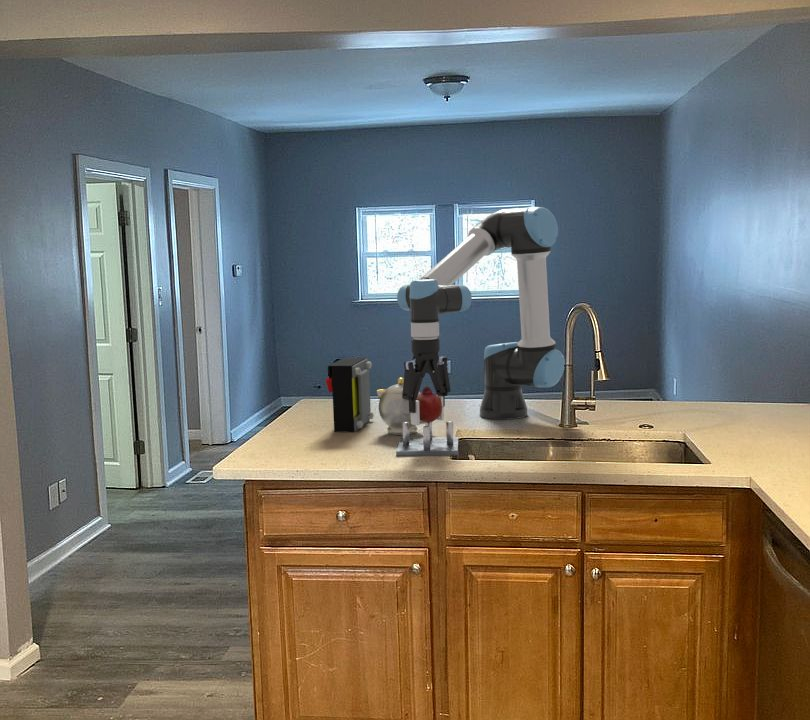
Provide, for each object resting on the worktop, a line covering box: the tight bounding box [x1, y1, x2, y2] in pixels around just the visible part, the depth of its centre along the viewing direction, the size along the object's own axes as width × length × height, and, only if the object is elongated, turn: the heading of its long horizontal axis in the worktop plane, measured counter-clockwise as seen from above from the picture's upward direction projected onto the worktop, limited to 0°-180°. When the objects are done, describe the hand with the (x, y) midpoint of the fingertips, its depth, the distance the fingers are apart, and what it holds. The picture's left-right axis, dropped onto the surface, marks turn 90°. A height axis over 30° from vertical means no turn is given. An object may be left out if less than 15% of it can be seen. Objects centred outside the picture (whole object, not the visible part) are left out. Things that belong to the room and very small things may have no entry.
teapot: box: [376, 377, 425, 436], centre depth 248 cm, size 18×14×16 cm
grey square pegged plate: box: [395, 420, 459, 457], centre depth 228 cm, size 16×16×7 cm
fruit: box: [417, 386, 442, 423], centre depth 227 cm, size 8×8×10 cm
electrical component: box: [325, 357, 374, 433], centre depth 260 cm, size 18×10×20 cm, turn 168°
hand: (427, 421), depth 228 cm, fingers closed on fruit, 8 cm apart
